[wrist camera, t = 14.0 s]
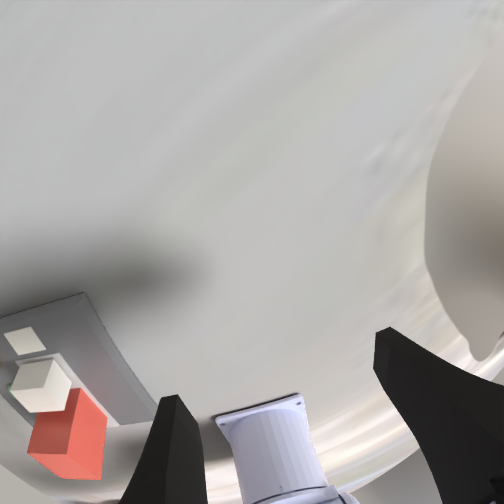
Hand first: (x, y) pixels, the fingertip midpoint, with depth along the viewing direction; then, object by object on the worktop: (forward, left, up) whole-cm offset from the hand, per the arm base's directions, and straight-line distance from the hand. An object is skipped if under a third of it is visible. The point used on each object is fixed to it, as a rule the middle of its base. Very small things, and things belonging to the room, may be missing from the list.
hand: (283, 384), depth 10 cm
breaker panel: (-5, +17, -9) cm, 20 cm away
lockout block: (-8, +16, -8) cm, 19 cm away
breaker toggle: (-4, +16, -8) cm, 18 cm away
